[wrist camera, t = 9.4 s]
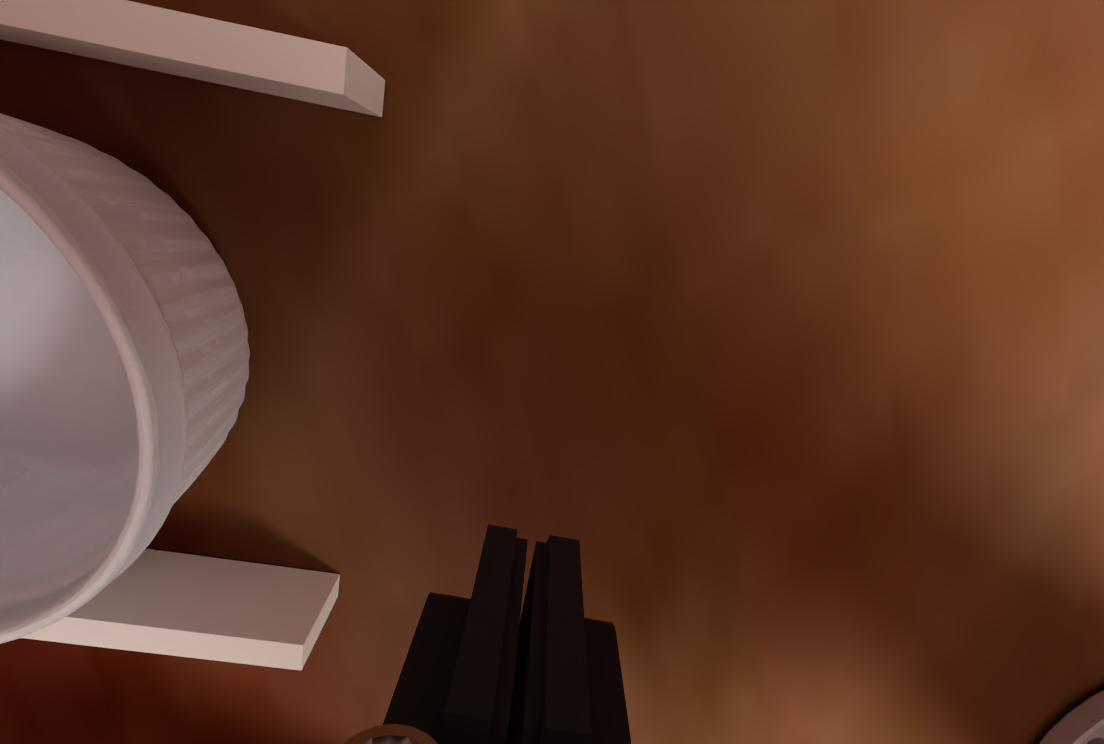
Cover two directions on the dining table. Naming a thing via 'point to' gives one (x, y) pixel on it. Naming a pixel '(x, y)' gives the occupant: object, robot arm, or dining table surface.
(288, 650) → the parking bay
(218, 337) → the ramekin
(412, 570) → the dining table surface
